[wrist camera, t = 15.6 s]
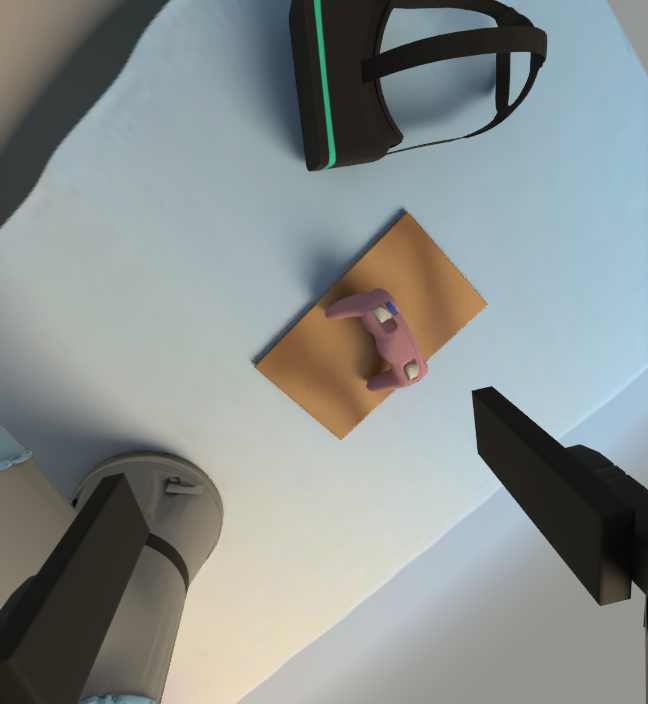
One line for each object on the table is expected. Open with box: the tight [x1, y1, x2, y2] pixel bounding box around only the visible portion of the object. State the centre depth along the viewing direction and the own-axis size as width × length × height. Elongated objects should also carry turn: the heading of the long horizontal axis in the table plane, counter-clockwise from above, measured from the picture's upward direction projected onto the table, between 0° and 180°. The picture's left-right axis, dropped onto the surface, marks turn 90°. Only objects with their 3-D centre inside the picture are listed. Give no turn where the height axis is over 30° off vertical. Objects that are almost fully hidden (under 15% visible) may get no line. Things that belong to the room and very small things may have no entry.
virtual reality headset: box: [289, 0, 547, 171], centre depth 29 cm, size 11×17×10 cm, turn 97°
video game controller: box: [325, 288, 428, 392], centre depth 37 cm, size 10×5×7 cm, turn 29°
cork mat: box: [255, 212, 488, 440], centre depth 40 cm, size 20×12×1 cm, turn 135°
